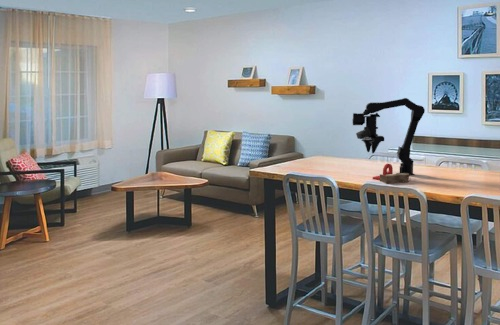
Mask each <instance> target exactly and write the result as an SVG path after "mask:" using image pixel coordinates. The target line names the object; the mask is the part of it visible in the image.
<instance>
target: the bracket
mask: <svg viewBox="0 0 500 325" xmlns="http://www.w3.org/2000/svg"><path fill="white" fill-rule="evenodd" d="M389 174H394V172H393V165H392V164H391V163H386V164H384V166H383V168H382V175H385V176H386V175H389ZM372 180H375V181H380V175H376V176H372Z"/></svg>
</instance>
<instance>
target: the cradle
mask: <svg viewBox="0 0 500 325" xmlns="http://www.w3.org/2000/svg"><path fill="white" fill-rule="evenodd" d="M379 176H380V180H379V182H381V183H384V184H386V185H391V184H392V185H393V184H402V183H409V181H410V180H409V178H410V175H409V173H401V174H400V172H395V173H393V174H389V175H386V176H385V175H383V173H382V174H379Z"/></svg>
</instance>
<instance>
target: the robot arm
mask: <svg viewBox="0 0 500 325" xmlns="http://www.w3.org/2000/svg"><path fill="white" fill-rule="evenodd" d="M403 106H405V107H406V108H407V109H408V110H410V111H411V112H410V113H411V114H410V122H409V126H408V128H407V131H406V134H405V138H404V140H403V143H402V145H401V146H398V149H397V152H396V154H397V156H396V157H397V159H399V160H400V162H401V163H400V166H399V173H400V174H401V173H409V176H413V175H415V173H414V160H413V159H412V158H411V146H412V143H413V140H414V138H415V137H414V136H415V134H416V131H417V127H418V124H419V122H420V121H421V119H422V118H423V116H424V114H425V107H424V106H423V105H419V104H416V103H415V102H413V101H412V100H410V99H409V98H407V97H404V98H403V97H402V98H399V99H394V100H390V101H389V100H388V101H383V102H382V101H381V102H369V103H367V104H366V105H365V109H364V110H363V112H362V113H356V112H353V113H352V126H363V125H364V124H365V126H364V127H363V129H362V130H360V131H358V132H356V133H355V135H356V138H357V139H359V140H361V141H362V142H363V143H364V146H365V148H366V152H367V153H370V152H371V153H372V154H375V152H376V150H377V148H378V146H379V145H380V144H381V143H382V142H385V137H384V135H379V134H377V130H378V129H379V127H378V126H377V118H380V117H381V114H379V113H378V112H380V111H382V110H386V109H387V110H388V109H391V108H397V107H403Z"/></svg>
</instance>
